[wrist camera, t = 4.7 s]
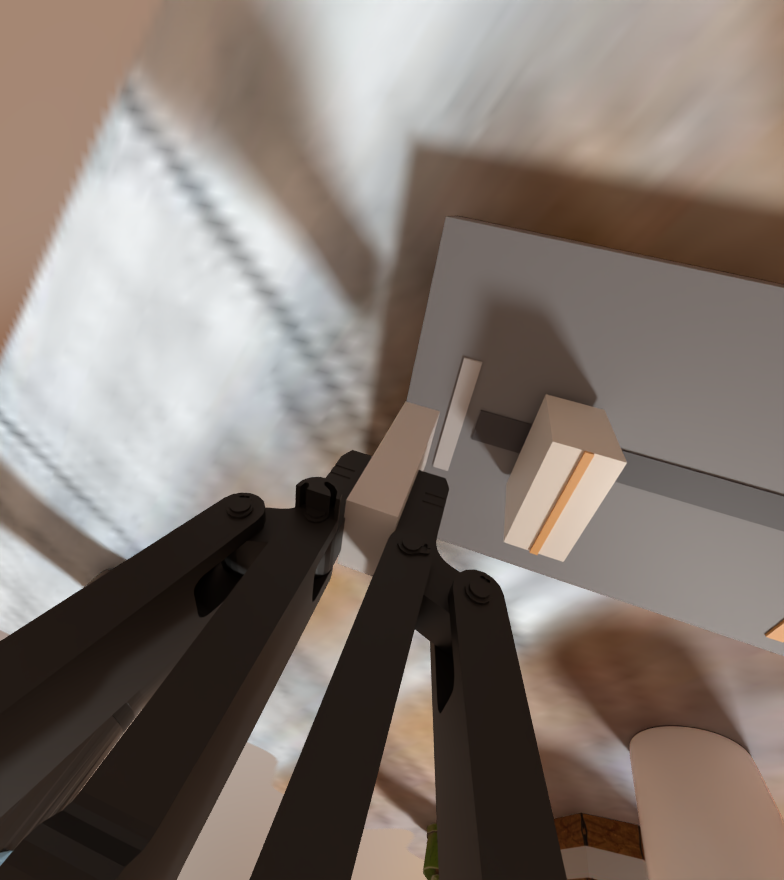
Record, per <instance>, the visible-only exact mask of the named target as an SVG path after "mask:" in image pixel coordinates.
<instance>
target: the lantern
mask: <svg viewBox="0 0 784 880" xmlns="http://www.w3.org/2000/svg"><path fill="white" fill-rule="evenodd" d="M427 839H428V841H427V848H426V854H425V861H424V868H423V874H424V875H425V877H426V878H427V879H428V880H439V867H438V840H437V823H433V824H431V825H428V826H427Z"/></svg>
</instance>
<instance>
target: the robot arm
mask: <svg viewBox="0 0 784 880" xmlns="http://www.w3.org/2000/svg"><path fill="white" fill-rule="evenodd" d="M439 414H440V411H437V410H433V409H430V408H426V407H423V406H419V405H416V404H412V403H409V402H405V403H404V405H403V406H402V408H401V410H400V411H399V413H398V415H397V416H396V418H395V420H394V421H393V423H392V425H391V426H390V428H389V430H388V431H387V433H386V435H385V436H384V438H383V440H382V441H381V443H380V445H379V446H378V448H377V450H376V451H375V453H374V455H373V456H370V455H367V454H363V453H360V452H357V451H354V450H352V451H350V452H348V453H346V454H344V455H343V456H341V458H340V459H339V460H338V462H337V463H336V465H335V466H334V467H333V469H332V470H331V472H330V473H329V474H328V476H327V477H326V478H322V477H311V478H307V479H305V480H302V481H301V482H299V483H298V484H297V485H296V503H295V508H290V509H278V508H265V504H264V501H263V500H262V499H261V498H260V497H259V496H256V495H254V494H251V493H237V494H232V495H230V496H228V497H225V498H223V499H222V500H220V501H219V502H217V503H216V504H214V505H212V506H211V507H209V508H208V509H206V510H205V511H203V512H201V513H200V514H198V515H197V516H195V517H194V518H192V519H191V520H189V521H187V522H186V523H184V524H183V525H181V526H180V527H178V528H176V529H175V530H173V531H172V532H170V533H169V534H167V535H166V536H164V537H162V538H161V539H159V540H158V541H156V542H155V543H153V544H151V545H150V546H148V547H147V548H145V549H144V550H142V551H141V552H139V553H137V554H136V555H134V556H133V557H131V558H130V559H128V560H126V561H125V562H123V563H122V564H120V565H119V566H117V567H115V568H114V569H112V570H106V571H103V572H101V573H100V574H99V575H97V576H96V577H95V578H94V579H93V580H92V581H91V582H89V583H88V584H87V585H86V586H85V587H84V588H83V589H81V590H80V591H78V592H76V593H75V594H73V595H72V596H70V597H69V598H67V599H65V600H64V601H62V602H61V603H59V604H58V605H56V606H55V607H53V608H51V609H50V610H48V611H47V612H45V613H44V614H42V615H40V616H39V617H37V618H36V619H34V620H33V621H31V622H29V623H28V624H26V625H25V626H23V627H22V628H20V629H19V630H17V631H15V632H14V633H12V634H11V635H9V636H8V637H6V638H5V639H3V640H1V641H0V880H177V878H178V876H179V874H180V872H181V869H182V867H183V865H184V863H185V861H186V859H187V858H188V855H189V854H190V852H191V850H192V848H193V846H194V844H195V842H196V840H197V838H198V836H199V834H200V832H201V830H202V828H203V826H204V824H205V822H206V820H207V819H208V817H209V814H210V813H211V811H212V809H213V807H214V805H215V803H216V801H217V799H218V797H219V795H220V793H221V791H222V789H223V787H224V785H225V783H226V781H227V779H228V778H229V776H230V774H231V772H232V770H233V768H234V766H235V764H236V762H237V760H238V758H239V756H240V754H241V752H242V750H243V748H244V746H245V744H246V742H247V740H248V738H249V737H250V735H251V733H252V731H253V729H254V727H255V725H256V723H257V721H258V719H259V717H260V715H261V713H262V711H263V709H264V707H265V705H266V703H267V701H268V699H269V697H270V696H271V694H272V692H273V690H274V688H275V686H276V684H277V682H278V680H279V678H280V676H281V674H282V672H283V670H284V668H285V666H286V664H287V662H288V660H289V658H290V656H291V655H292V653H293V651H294V649H295V647H296V645H297V643H298V641H299V639H300V637H301V635H302V633H303V631H304V629H305V627H306V625H307V623H308V621H309V619H310V617H311V615H312V614H313V612H314V610H315V608H316V606H317V604H318V602H319V600H320V598H321V596H322V594H323V592H324V590H325V588H326V586H327V584H328V582H329V580H330V578H331V575H332V570H333V565H334V563H335V561H336V559H337V557H338V555H339V558H338V564H340V565H343V566H346V567H349V568H351V569H354V570H357V571H360V572H362V573H365V574H368V575H371V576H373V577H372V580H371V582H370V585H369V587H368V590H367V592H366V594H365V597H364V599H363V602H362V604H361V607H360V609H359V612H358V614H357V617H356V619H355V622H354V624H353V626H352V629H351V631H350V634H349V636H348V639H347V641H346V644H345V646H344V649H343V651H342V653H341V656H340V658H339V661H338V663H337V666H336V668H335V671H334V673H333V676H332V678H331V681H330V683H329V685H328V688H327V690H326V693H325V695H324V698H323V700H322V703H321V705H320V708H319V710H318V712H317V715H316V717H315V720H314V722H313V725H312V727H311V730H310V732H309V735H308V737H307V740H306V742H305V744H304V747H303V749H302V752H301V754H300V757H299V759H298V762H297V764H296V767H295V769H294V772H293V774H292V776H291V779H290V781H289V784H288V786H287V789H286V791H285V794H284V796H283V799H282V801H281V803H280V806H279V808H278V811H277V813H276V816H275V818H274V821H273V823H272V826H271V828H270V831H269V833H268V835H267V838H266V840H265V843H264V845H263V848H262V850H261V853H260V856H259V858H258V860H257V863H256V865H255V867H254V870H253V872H252V875H251V877H250V880H351V876H352V872H353V869H354V865H355V861H356V857H357V853H358V849H359V845H360V841H361V837H362V833H363V829H364V825H365V822H366V818H367V814H368V810H369V806H370V802H371V798H372V794H373V790H374V786H375V782H376V778H377V775H378V771H379V767H380V763H381V759H382V755H383V751H384V747H385V743H386V739H387V735H388V731H389V728H390V724H391V720H392V716H393V712H394V708H395V704H396V700H397V696H398V692H399V688H400V684H401V681H402V677H403V673H404V669H405V665H406V661H407V657H408V653H409V649H410V645H411V641H412V637H413V634H414V630H417V631H418V632H419V633H420V634H422V635H423V636H424V637H425V638H427V639H428V640H429V641H430V652H431V679H432V706H433V733H434V760H435V787H436V814H437V840H438V867H439V880H567V877H566V872H565V868H564V863H563V859H562V854H561V850H560V845H559V841H558V836H557V832H556V827H555V823H554V818H553V814H552V809H551V805H550V800H549V796H548V791H547V787H546V783H545V778H544V774H543V769H542V765H541V760H540V756H539V751H538V747H537V742H536V738H535V733H534V729H533V724H532V720H531V715H530V711H529V706H528V702H527V697H526V693H525V688H524V684H523V679H522V675H521V670H520V666H519V661H518V657H517V652H516V648H515V644H514V639H513V635H512V630H511V626H510V621H509V617H508V612H507V608H506V603H505V599H504V595H503V592H502V590H501V588H500V586H499V585H498V583H497V582H496V581H495V580H494V579H493V578H492V577H490V576H489V575H487V574H486V573H484V572H481V571H478V570H465V571H462V572H459V571H457V570H456V569H454V568H453V567H451V566H450V565H449V564H447V563H446V562H445V561H444V560H443V558H442V557H441V556H440V554H439V552H438V550H437V546H436V540H437V535H438V531H439V527H440V524H441V520H442V516H443V512H444V508H445V504H446V500H447V496H448V492H449V486H448V483H447V480H446V478H443V477H440V476H437V475H434V474H431V473H427V472H424V471H423V470H424V468H425V465H426V462H427V458H428V454H429V451H430V447H431V443H432V440H433V436H434V432H435V429H436V425H437V421H438V418H439ZM141 710H142V711H141ZM140 711H141V712H140ZM139 712H140V713H139ZM138 713H139V714H138ZM137 715H138V716H137ZM136 716H137V717H136ZM135 717H136V718H135ZM134 719H135V720H134ZM133 720H134V721H133ZM132 721H133V722H132ZM131 722H132V724H131V725H130V723H131ZM129 725H130V726H129ZM128 726H129V728H128V729H127V727H128ZM126 729H127V730H126ZM125 730H126V732H125ZM123 732H125V733H124V734H123ZM122 734H123V736H122ZM121 736H122V737H121ZM120 737H121V738H120ZM119 738H120V739H119ZM118 740H119V741H118ZM117 741H118V742H117ZM116 742H117V743H116ZM115 744H116V745H115ZM114 745H115V746H114ZM113 746H114V748H113ZM112 748H113V749H112ZM111 749H112V750H111ZM110 750H111V751H110ZM109 752H110V753H109ZM108 753H109V754H108ZM107 754H108V755H107ZM106 756H107V757H106ZM105 757H106V758H105ZM104 758H105V759H104ZM103 760H104V761H103ZM102 761H103V762H102ZM101 762H102V763H101ZM100 764H101V765H100ZM99 765H100V766H99ZM98 766H99V768H98ZM97 768H98V769H97ZM96 769H97V770H96ZM95 770H96V771H95ZM94 772H95V773H94ZM93 773H94V774H93ZM92 774H93V775H92ZM91 776H92V777H91ZM90 777H91V778H90ZM89 778H90V779H89ZM88 780H89V781H88ZM87 781H88V782H87ZM86 782H87V783H86ZM84 785H85V786H84ZM83 786H84V787H83ZM81 789H82V790H81ZM80 790H81V791H80ZM77 794H78V795H77Z"/></svg>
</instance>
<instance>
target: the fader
mask: <svg viewBox="0 0 784 880" xmlns="http://www.w3.org/2000/svg"><path fill="white" fill-rule="evenodd" d="M626 464H627V461H626V459H625V457H624V454H623V452H622V450H621V447H620V445H619V443H618V440H617V438H616V436H615V433H614V431H613V429H612V426H611V424H610V422H609V419H608V417H607V415H606V412H605V410H603V409H599V408H595V407H592V406H588V405H584V404H581V403H577V402H573V401H570V400H566V399H562V398H558V397H555V396H551V395H547V394H546V395H545V397H544V399H543V402H542V404H541V406H540V409H539V411H538V413H537V415H536V418H535V420H534V422H533V425H532V427H531V429H530V431H529V434H528V436H527V438H526V441H525V443H524V445H523V447H522V450H521V452H520V454H519V457H518V459H517V461H516V463H515V466H514V468H513V470H512V472H511V475H510V477H509V479H508V482H507V484H506V504H505V525H504V542H505V543H508V544H511V545H514V546H517V547H520V548H523V549H526V550H529V551H530V553H532V554H535V555H538V554H541V555H544V556H547V557H550V558H553V559H556V560H559V561H562V562H564V560H565V559H566V557H567V556H568V554H569V553H570V551H571V549H572V548H573V546H574V545H575V543H576V542H577V540H578V539H579V537H580V535H581V534H582V532H583V531H584V529H585V528H586V526H587V525H588V523H589V521H590V520H591V518H592V517H593V515H594V514H595V512H596V510H597V509H598V507H599V506H600V504H601V503H602V501H603V500H604V498H605V496H606V495H607V493H608V492H609V490H610V489H611V487H612V486H613V484H614V482H615V481H616V479H617V478H618V476H619V475H620V473H621V472H622V470H623V468H624V467H625V465H626Z"/></svg>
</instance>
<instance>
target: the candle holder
mask: <svg viewBox="0 0 784 880" xmlns="http://www.w3.org/2000/svg"><path fill="white" fill-rule="evenodd" d="M629 751H630V760H631V768H632V775H633V782H634V789H635V796H636V802H637V809H638V816H639V822H640V829H641V836H642V843H643V849H644V856H645V863H646V869H647V876H648V880H784V820H783V818H782V816H781V813H780V811H779V809H778V807H777V805H776V803H775V801H774V799H773V797H772V795H771V793H770V791H769V789H768V787H767V785H766V783H765V781H764V779H763V777H762V775H761V773H760V771H759V769H758V767H757V765H756V764H755V762H754V760H753V758H752V757H751V756H750V754H749V753H748V752H747V751H746V750H745V749H744V748H743V747H741V746H740V745H739V744H737V743H736V742H734V741H732V740H730V739H728V738H726V737H724V736H721V735H719V734H716V733H713V732H709V731H706V730H701V729H697V728H690V727H681V726H663V727H655V728H650V729H647V730H644V731H641V732H639V733H638V734H636V735H635V736H634V737H633V738H632V740H631V742H630V746H629Z"/></svg>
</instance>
